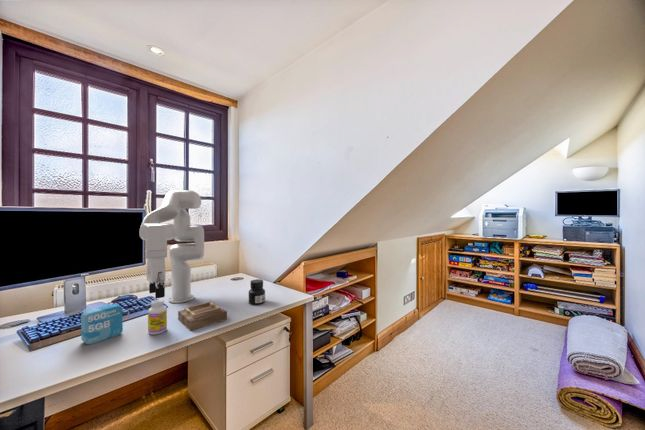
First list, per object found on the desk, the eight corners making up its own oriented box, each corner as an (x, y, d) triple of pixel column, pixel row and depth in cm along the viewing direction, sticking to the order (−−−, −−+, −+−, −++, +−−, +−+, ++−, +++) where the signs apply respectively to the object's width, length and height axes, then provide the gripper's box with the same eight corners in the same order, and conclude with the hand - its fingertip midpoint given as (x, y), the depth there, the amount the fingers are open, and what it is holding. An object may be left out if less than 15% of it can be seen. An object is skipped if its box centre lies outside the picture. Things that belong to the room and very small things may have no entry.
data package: (85, 346, 100) (84, 314, 99) (81, 342, 102) (80, 311, 102) (122, 333, 110) (122, 304, 109) (118, 330, 112) (118, 302, 112)
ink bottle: (259, 306, 140) (259, 284, 140) (244, 304, 143) (244, 282, 143) (268, 300, 149) (268, 279, 149) (254, 298, 152) (254, 278, 152)
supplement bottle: (147, 336, 107) (146, 305, 107) (149, 330, 113) (148, 300, 113) (166, 333, 110) (166, 302, 110) (167, 326, 116) (167, 297, 116)
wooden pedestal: (178, 319, 124) (178, 307, 123) (212, 310, 135) (212, 299, 135) (190, 330, 112) (190, 317, 112) (226, 319, 124) (226, 307, 123)
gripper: (141, 252, 114) (141, 292, 114) (151, 257, 102) (151, 302, 102) (161, 251, 119) (161, 289, 119) (173, 255, 107) (173, 297, 107)
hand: (156, 295), depth 111 cm, fingers open, 9 cm apart
